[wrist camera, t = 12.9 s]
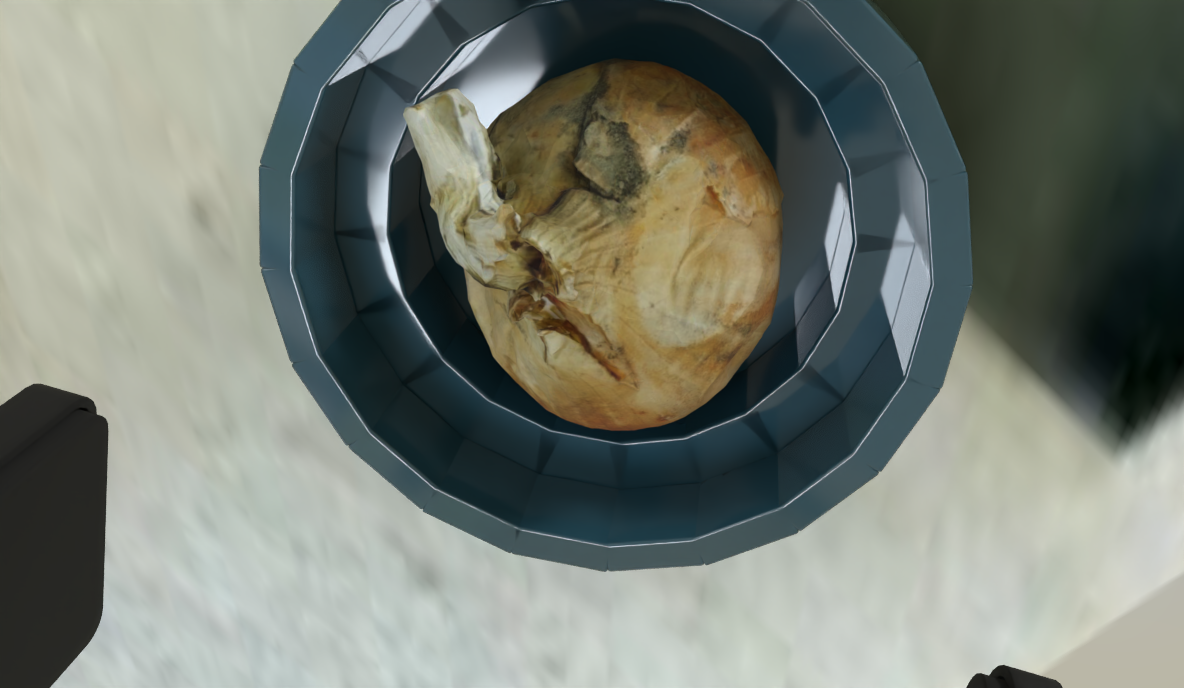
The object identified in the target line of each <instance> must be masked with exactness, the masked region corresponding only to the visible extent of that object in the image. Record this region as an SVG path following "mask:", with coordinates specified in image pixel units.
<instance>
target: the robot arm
mask: <svg viewBox="0 0 1184 688" xmlns="http://www.w3.org/2000/svg"><path fill="white" fill-rule="evenodd" d="M107 458H108V423H107V421H106V418H104V417H103V416H100V415H97V412H96V406H95V404H94V402H93V401H92V400H91V399H89V398H88V397H84V396H81V395H78V394H74V393H71V392H67V391H64V390H60V389H57V388H54V387H50V386H47V385H43V384H33V385H31V386H29V387H27V388H25V389H24V390H22V391H21V392H19V393H18V394H17V395H15V396H14V397H12V398H11V399H9V400H8V401H7V402H5V403H4V404H2V405H1V406H0V688H50V687H51V686H52V685H53V683H54V682H55V681H56V680H57V679H58V678H59V677H60V675H61V674H62V673H63V672H64V671H65V670H66V669H67V667H68V666H69V665H70V664H71V663H72V662H73V661H74V660H75V658H76V657H77V656H78V655H79V654H80V653H81V652H82V650H83V649H84V648H85V647H86V646H87V645H88V643H89V642H90V641H91V639H92V637H93V636H94V634H95V632H96V630H97V628H98V625H99V623H100V620H101V616H102V611H103V589H104V556H105V524H106V491H107ZM967 688H1062V686H1061V684H1060V683H1059V682H1057V681H1056V680H1053V679H1049V678H1046V677H1043V676H1040V675H1036V674H1033V673H1029V672H1026V671H1022V670H1019V669H1016V668H1012V667H1009V666H1005V665H1000V666H998V667H996V668H995V669H994V670H993V671H992V673H991V674H990V676H988V675H985V674H981V673H978V674H976V675H975V676H973V677H972V679H971V680H970V682H969V684H968V686H967Z"/></svg>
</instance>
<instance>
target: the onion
mask: <svg viewBox="0 0 1184 688" xmlns="http://www.w3.org/2000/svg"><path fill="white" fill-rule="evenodd" d="M403 116H404V118H405V120H406V122H407V125H408V128H409V131H410V133H411V136H412V139H413V142H414V145H415V148H416V150H417V152H418V154H419V157H420V159H421V161H422V165H423V169H424V173H425V178H426V182H427V186H428V189H429V192H430V195H431V202H430V206H431V207H432V208H433V209H434V211H435V212H436V213H437V216H438V221H439V227H440V232H441V234H442V237H443V240H444V243H445V245H446V248H447V250H448V251H449V253H450V254H451V256H452V257H453V258H454V260H455V261H456V263H458V264H459V265H461V266H462V267H463V268H464V273H465V278H466V284H467V291H468V301H469V303H470V305H471V308H472V310H473V313H474V315H475V318H476V320H477V322H478V324H479V326H480V328H481V330H482V332H483V334H484V336H485V338H486V340H487V343H488V345H489V347H490V350H491V353H492V356H493V357H494V358H495V360H496V361H497V362H498V363H499V364H500V366H501V367H502V368H503V369H504V370H505V371H506V372H507V373H508V374H509V375H510V376H511V377H512V378H513V379H514V380H515V381H516V382H517V383H518V384H519V385H520V386H521V387H522V388H523V389H524V390H525V391H526V392H527V393H528V394H529V395H530V396H531V397H533V398H534V399H535V400H536V401H537V402H538V403H539V404H540V405H541V406H543V407H544V408H545V409H546V410H547V411H549V412H551V413H553V414H555V415H557V416H559V417H561V418H563V419H565V420H567V421H570V422H573V423H576V424H579V425H583V426H586V427H589V428H599V429H605V430H611V431H629V430H639V429H643V428H649V427H657V426H662V425H665V424H668V423H671V422H674V421H676V420H678V419H681V418H683V417H685V416H687V415H688V414H690V413H691V412H693V411H694V410H696V409H698V408H699V407H701V406H702V405H704V404H705V403H707V402H708V401H709V400H710V399H711V398H712V397H713V396H715V395H716V394H717V393H718V392H719V391H721V390H722V389H723V388H724V387H725V386H726V385H727V383H728V382H729V381H730V379H731V378H732V377H733V375H734V374H735V372H736V371H737V370H738V368H739V367H740V366H741V364H742V363H743V362H744V360H746V359H747V358H748V356H749V355H750V354H751V352H752V351H753V349H754V348H755V346H756V345H757V343H758V342H759V340H760V339H761V337H762V335H763V333H764V332H765V330H766V329H767V328H768V326H769V325H770V323H771V320H772V316H773V312H774V308H775V304H776V300H777V295H778V289H779V281H780V265H781V253H782V230H783V219H782V208H781V203H782V200H783V196H784V195H783V192H782V190H781V187H780V184H779V181H778V178H777V176H776V173H775V170H774V168H773V166H772V164H771V162H770V160H769V158H768V157H767V155H766V154H765V152H764V151H763V149H762V147H761V146H760V144H759V142H758V141H757V139H756V137H755V136H754V134H753V132H752V130H751V128H750V126H749V125H748V123H747V122H746V121H745V120H744V119H743V118H742V117H741V116H740V115H739V114H738V113H737V112H736V111H735V110H734V109H733V108H732V107H731V106H730V105H729V104H728V103H727V102H726V101H725V100H724V99H723V98H722V97H721V96H720V95H719V94H717V93H715V92H713V91H712V90H711V89H709V88H708V87H706V86H705V85H704V84H702V83H701V82H699V81H697V80H695V79H693V78H691V77H689V76H687V75H685V74H683V73H681V72H680V71H678V70H676V69H673V68H671V67H668V66H665V65H662V64H659V63H655V62H648V61H633V60H625V59H617V58H614V59H609V60H604V61H601V62H598V63H595V64H592V65H589V66H585V67H582V68H579V69H577V70H574V71H572V72H569V73H567V74H564V75H561V76H558V77H555V78H552V79H550V80H548V81H547V82H546V83H544V84H543V85H541V86H540V87H538V88H537V89H535V90H533V91H532V92H530V93H529V94H528V95H526V96H525V97H524V98H522V99H521V100H520V101H518V102H517V103H516V104H514V105H513V106H511V107H510V108H508V109H506V110H505V111H503V112H502V113H500V114H499V115H498V116H497V118H496V119H495V120H494V121H493V122H492V123H491V124H490V126H489V127H488V128H487V129H486V128H485V127H484V126H483V125H482V123H481V122H480V121H479V118H478V115H477V112H476V109H475V106H474V104H473V103H472V102H471V101H470V100H468V99H467V98H466V97H465V96H464V95H463V94H462V93H461V92H460V91H459V90H458V89H448V90H445V91H442V92H439V93H437V94H435V95H433V96H431V97H429V98H428V99H426V100H424V101H423V102H421V103H419V104H416V105H413V106H410V107H407V108H405V110H404V113H403Z"/></svg>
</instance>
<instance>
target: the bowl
mask: <svg viewBox="0 0 1184 688" xmlns="http://www.w3.org/2000/svg"><path fill="white" fill-rule="evenodd" d="M614 58H617V59H625V60H633V61H648V62H655V63H659V64H662V65H665V66H668V67H671V68H673V69H676V70H678V71H680V72H681V73H683V74H685V75H687V76H689V77H691V78H693V79H695V80H697V81H699V82H701V83H702V84H704V85H705V86H706V87H708V88H709V89H711V90H712V91H713V92H715V93H717V94H719V95H720V96H721V97H722V98H723V99H724V100H725V101H726V102H727V103H728V104H729V105H730V106H731V107H732V108H733V109H734V110H735V111H736V112H737V113H738V114H739V115H740V116H741V117H742V118H743V119H744V120H745V121H746V122H747V123H748V125H749V126H750V128H751V130H752V132H753V134H754V136H755V137H756V139H757V141H758V142H759V144H760V146H761V147H762V149H763V151H764V152H765V154H766V155H767V157H768V158H769V160H770V162H771V164H772V166H773V168H774V170H775V173H776V176H777V178H778V181H779V184H780V187H781V190H782V192H783V195H784V196H783V200H782V203H781V208H782V219H783V230H782V253H781V265H780V281H779V289H778V295H777V300H776V304H775V308H774V312H773V316H772V320H771V323H770V325H769V326H768V328H767V329H766V330H765V332H764V333H763V335H762V337H761V339H760V340H759V342H758V343H757V345H756V346H755V348H754V349H753V351H752V352H751V354H750V355H749V356H748V358H747V359H746V360H744V362H743V363H742V364H741V366H740V367H739V368H738V370H737V371H736V372H735V374H734V375H733V377H732V378H731V379H730V381H729V382H728V383H727V385H726V386H725V387H724V388H723V389H722V390H721V391H719V392H718V393H717V394H716V395H715V396H713V397H712V398H711V399H710V400H709V401H708V402H707V403H705V404H704V405H702V406H701V407H699V408H698V409H696V410H694V411H693V412H691V413H690V414H688V415H687V416H685V417H683V418H681V419H678V420H676V421H674V422H671V423H668V424H665V425H662V426H657V427H649V428H643V429H639V430H629V431H611V430H605V429H599V428H589V427H586V426H583V425H579V424H576V423H573V422H570V421H567V420H565V419H563V418H561V417H559V416H557V415H555V414H553V413H551V412H549V411H547V410H546V409H545V408H544V407H543V406H541V405H540V404H539V403H538V402H537V401H536V400H535V399H534V398H533V397H531V396H530V395H529V394H528V393H527V392H526V391H525V390H524V389H523V388H522V387H521V386H520V385H519V384H518V383H517V382H516V381H515V380H514V379H513V378H512V377H511V376H510V375H509V374H508V373H507V372H506V371H505V370H504V369H503V368H502V367H501V366H500V364H499V363H498V362H497V361H496V360H495V358H494V357H493V356H492V353H491V350H490V347H489V345H488V343H487V340H486V338H485V336H484V334H483V332H482V330H481V328H480V326H479V324H478V322H477V320H476V318H475V315H474V313H473V310H472V308H471V305H470V303H469V301H468V291H467V284H466V278H465V273H464V268H463V267H462V266H461V265H459V264H458V263H456V261H455V260H454V258H453V257H452V256H451V254H450V253H449V251H448V250H447V248H446V245H445V243H444V240H443V237H442V234H441V232H440V227H439V221H438V216H437V213H436V212H435V211H434V209H433V208H432V207H431V206H430V202H431V195H430V192H429V189H428V186H427V182H426V178H425V173H424V169H423V165H422V161H421V159H420V157H419V154H418V152H417V150H416V148H415V145H414V142H413V139H412V136H411V133H410V131H409V128H408V125H407V122H406V120H405V118H404V116H403V113H404V110H405V108H407V107H410V106H413V105H416V104H419V103H421V102H423V101H424V100H426V99H428V98H429V97H431V96H433V95H435V94H437V93H439V92H442V91H445V90H448V89H458V90H459V91H460V92H461V93H462V94H463V95H464V96H465V97H466V98H467V99H468V100H470V101H471V102H472V103H473V104H474V106H475V109H476V112H477V115H478V118H479V121H480V122H481V123H482V125H483V126H484V127H485V128H486V129H487V128H488V127H489V126H490V124H491V123H492V122H493V121H494V120H495V119H496V118H497V116H498V115H499V114H500V113H502V112H503V111H505V110H506V109H508V108H510V107H511V106H513V105H514V104H516V103H517V102H518V101H520V100H521V99H522V98H524V97H525V96H526V95H528V94H529V93H530V92H532V91H533V90H535V89H537V88H538V87H540V86H541V85H543V84H544V83H546V82H547V81H548V80H550V79H552V78H555V77H558V76H561V75H564V74H567V73H569V72H572V71H574V70H577V69H579V68H582V67H585V66H589V65H592V64H595V63H598V62H601V61H604V60H609V59H614ZM260 163H261V165H260V167H259V231H260V267H262V269H261V273H262V276H263V279H264V282H265V285H266V288H267V291H268V294H269V297H270V300H271V303H272V307H273V310H274V313H275V316H276V319H277V322H278V325H279V328H280V331H281V334H282V337H283V340H284V343H285V347H286V350H287V353H288V356H289V359H290V361H291V362H292V363H293V364H292V367H293V368H294V370H295V371H296V373H297V374H298V376H299V377H300V379H301V380H302V382H303V383H304V385H305V386H306V387H307V389H308V390H309V392H310V393H311V395H312V396H313V398H314V399H315V401H316V402H317V404H318V405H319V407H320V408H321V409H322V411H323V412H324V414H325V415H326V417H327V418H328V420H329V421H330V423H331V424H332V426H333V427H334V429H335V430H336V431H337V433H338V434H339V436H340V437H341V439H342V440H343V442H344V443H345V444H346V445H349V448H350V449H351V450H352V451H353V452H354V453H355V454H356V455H358V456H359V457H360V458H361V459H362V460H363V461H365V462H366V463H367V464H368V465H369V466H370V467H372V468H373V469H374V470H375V471H376V472H378V473H379V474H380V475H381V476H382V477H383V478H385V479H386V480H387V481H388V482H389V483H390V484H392V485H393V486H394V487H395V488H396V489H398V490H399V491H400V492H401V493H402V494H403V495H405V496H406V497H407V498H408V499H409V500H410V501H412V502H413V503H414V504H415V505H416V506H418V507H419V508H420V509H423V512H425V513H427V514H429V515H431V516H433V517H435V518H437V519H439V520H442V521H444V522H446V523H448V524H450V525H452V526H454V527H456V528H458V529H460V530H462V531H464V532H467V533H469V534H471V535H473V536H475V537H477V538H479V539H481V540H483V541H485V542H487V543H489V544H492V545H494V546H496V547H498V548H500V549H502V550H504V551H506V552H508V553H511V552H512V553H513V554H516V555H521V556H526V557H532V558H537V559H542V560H547V561H552V562H557V563H562V564H567V565H573V566H578V567H583V568H588V569H593V570H598V571H603V572H606V571H607V570H608V571H626V570H641V569H655V568H670V567H685V566H700V565H704V563H705V565H709V564H712V563H715V562H718V561H720V560H723V559H726V558H729V557H732V556H735V555H737V554H740V553H743V552H746V551H749V550H752V549H754V548H757V547H760V546H763V545H766V544H769V543H771V542H774V541H777V540H780V539H783V538H786V537H788V536H791V535H794V534H797V533H798V531H801V530H803V529H804V528H805V527H807V526H808V525H810V524H811V523H812V522H814V521H815V520H816V519H818V518H819V517H820V516H822V515H823V514H825V513H826V512H827V511H829V510H830V509H831V508H833V507H834V506H836V505H837V504H838V503H840V502H841V501H842V500H844V499H845V498H847V497H848V496H849V495H851V494H852V493H853V492H855V491H856V490H857V489H859V488H860V487H862V486H863V485H864V484H866V483H867V482H868V481H870V480H871V479H873V478H874V477H875V476H877V475H878V473H879V472H881V471H882V470H883V469H884V467H885V466H886V464H887V463H888V462H889V460H890V459H891V458H892V456H893V455H894V453H895V452H896V451H897V449H898V448H899V447H900V445H901V444H902V442H903V441H904V440H905V438H906V437H907V436H908V434H909V433H910V431H911V430H912V429H913V427H914V426H915V425H916V423H917V422H918V420H919V419H920V418H921V416H922V415H923V414H924V412H925V411H926V409H927V408H928V407H929V405H930V404H931V402H932V401H933V400H934V398H935V397H936V396H937V394H938V393H939V391H940V388H942V387H943V383H944V380H945V377H946V374H947V370H948V367H949V364H950V360H951V357H952V354H953V351H954V347H955V344H956V341H957V337H958V334H959V331H960V328H961V324H962V321H963V318H964V314H965V311H966V308H967V305H968V301H969V298H970V295H971V291H972V288H973V287H972V284H973V268H972V248H971V228H970V208H969V187H968V173H967V172H966V166H965V164H964V161H963V159H962V157H961V154H960V152H959V149H958V147H957V145H956V142H955V140H954V138H953V135H952V133H951V130H950V128H949V126H948V123H947V121H946V119H945V116H944V114H943V111H942V109H941V107H940V104H939V102H938V100H937V97H936V95H935V92H934V90H933V88H932V85H931V83H930V81H929V78H928V76H927V73H926V71H925V69H924V66H923V64H922V62H921V61H920V60H919V58H918V57H917V54H916V53H915V52H914V51H913V49H912V48H911V47H910V45H909V44H908V43H907V41H906V40H905V39H904V37H903V36H902V35H901V33H900V32H899V31H898V29H897V28H896V27H895V26H894V24H893V23H892V22H891V20H890V19H889V18H888V17H887V16H886V15H885V14H884V12H883V11H882V10H881V9H880V8H879V7H878V6H877V5H876V4H875V3H874V2H873V1H872V0H341V1H340V2H339V3H338V4H337V6H336V7H335V8H334V10H333V11H332V12H331V13H330V15H329V16H328V17H327V18H326V20H325V21H324V22H323V24H322V25H321V26H320V27H319V29H318V30H317V31H316V32H315V34H314V35H313V36H312V38H311V39H310V40H309V41H308V43H307V44H306V45H305V46H304V48H303V49H302V50H301V51H300V53H299V54H298V55H297V57H296V58H295V59H294V64H293V65H292V66H291V69H290V72H289V75H288V78H287V81H286V84H285V87H284V90H283V93H282V96H281V99H280V102H279V105H278V108H277V111H276V114H275V117H274V120H273V124H272V127H271V130H270V133H269V136H268V139H267V142H266V145H265V148H264V151H263V154H262V157H261V160H260Z"/></svg>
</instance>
